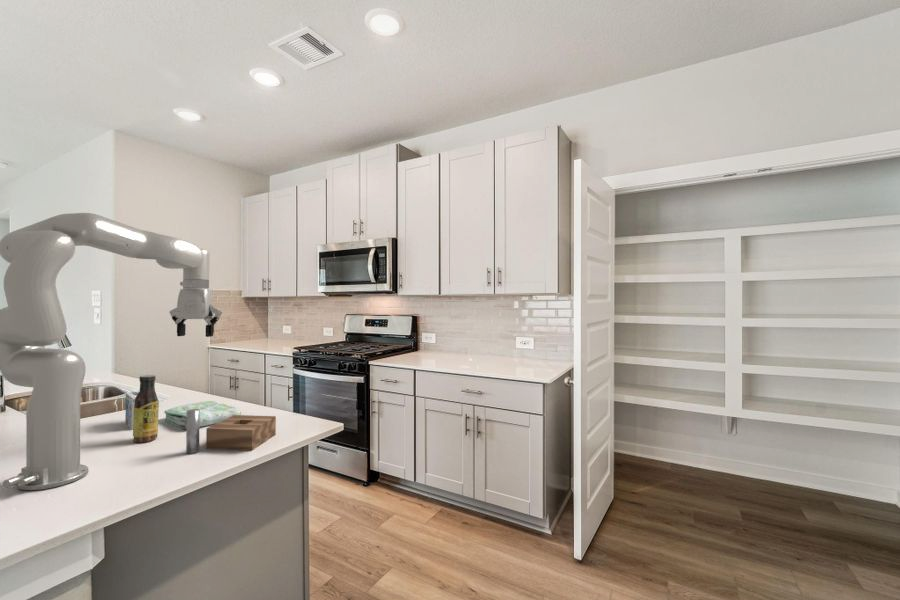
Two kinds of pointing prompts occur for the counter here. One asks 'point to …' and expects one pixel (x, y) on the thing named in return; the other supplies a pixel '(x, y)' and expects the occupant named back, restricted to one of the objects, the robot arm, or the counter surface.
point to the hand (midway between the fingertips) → (195, 336)
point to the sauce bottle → (146, 411)
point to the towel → (201, 413)
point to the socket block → (240, 432)
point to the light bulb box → (130, 408)
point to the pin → (192, 431)
